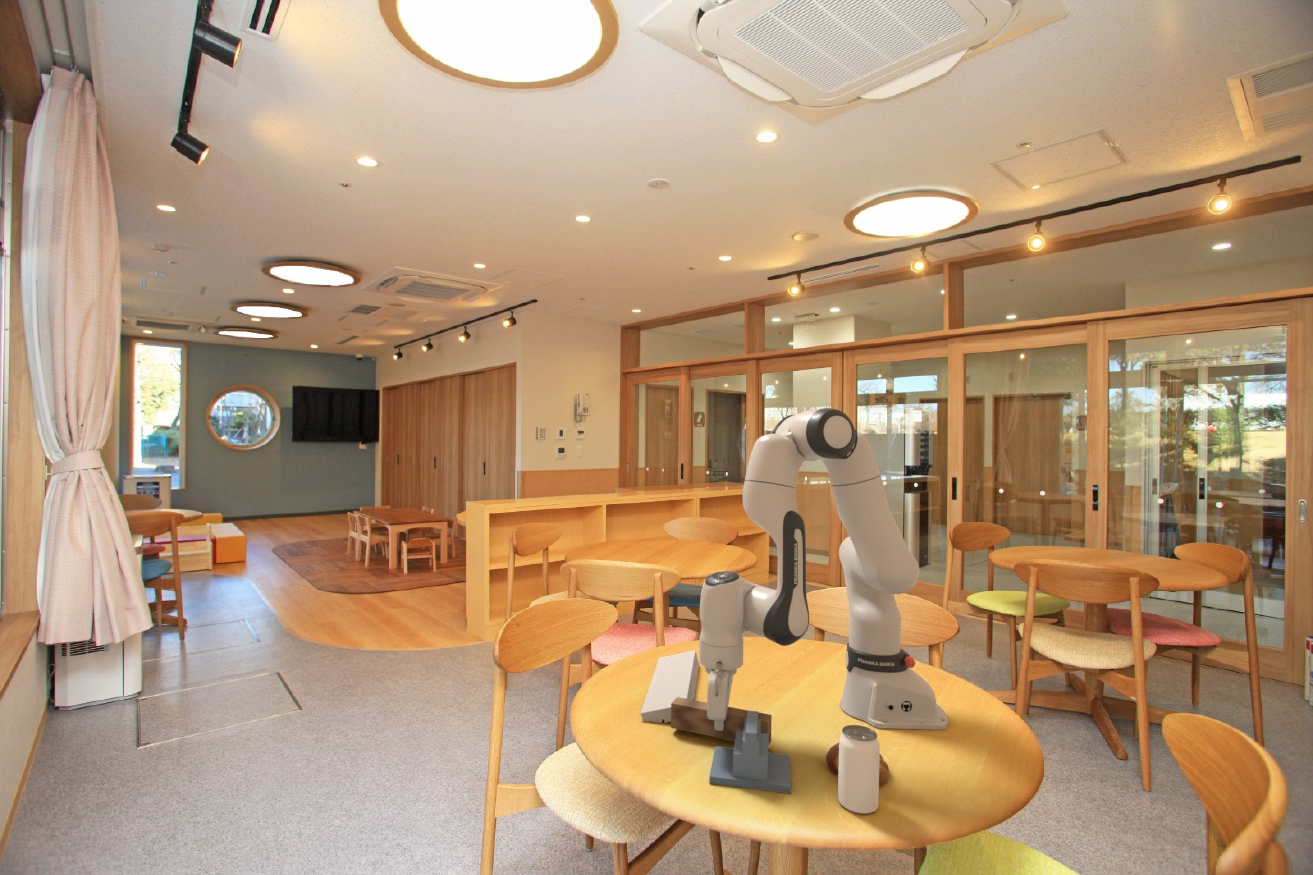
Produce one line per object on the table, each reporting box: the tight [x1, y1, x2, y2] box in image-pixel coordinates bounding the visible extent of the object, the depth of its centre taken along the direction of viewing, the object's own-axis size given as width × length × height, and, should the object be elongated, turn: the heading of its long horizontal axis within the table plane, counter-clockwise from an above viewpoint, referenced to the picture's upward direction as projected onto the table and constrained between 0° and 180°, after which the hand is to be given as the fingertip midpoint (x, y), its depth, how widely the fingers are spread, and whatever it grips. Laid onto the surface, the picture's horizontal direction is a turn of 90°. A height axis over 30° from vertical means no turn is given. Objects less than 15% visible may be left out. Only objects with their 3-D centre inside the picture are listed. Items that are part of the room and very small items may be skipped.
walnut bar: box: [670, 697, 772, 746], centre depth 126 cm, size 20×3×5 cm, turn 67°
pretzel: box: [825, 742, 890, 787], centre depth 116 cm, size 12×11×4 cm
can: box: [837, 724, 881, 815], centre depth 105 cm, size 6×6×12 cm
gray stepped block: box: [708, 710, 792, 794], centre depth 114 cm, size 14×11×9 cm
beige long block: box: [640, 649, 700, 724], centre depth 150 cm, size 34×5×10 cm
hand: (720, 722), depth 126 cm, fingers closed on walnut bar, 4 cm apart
